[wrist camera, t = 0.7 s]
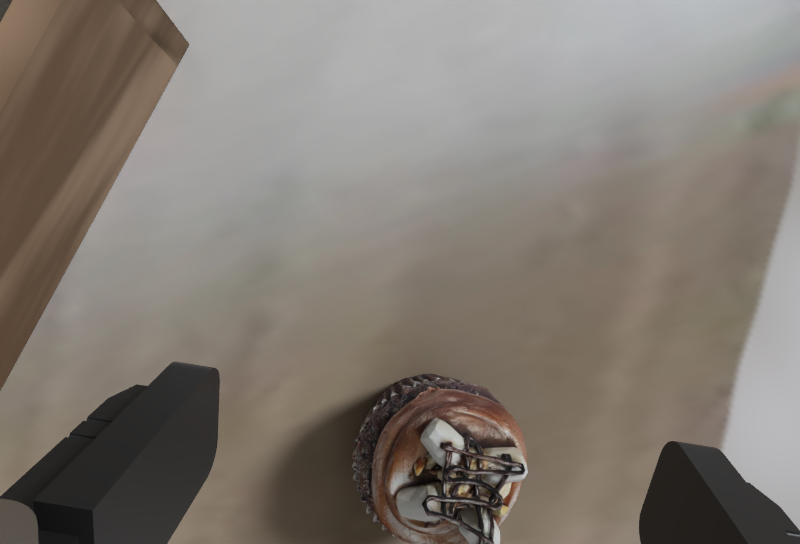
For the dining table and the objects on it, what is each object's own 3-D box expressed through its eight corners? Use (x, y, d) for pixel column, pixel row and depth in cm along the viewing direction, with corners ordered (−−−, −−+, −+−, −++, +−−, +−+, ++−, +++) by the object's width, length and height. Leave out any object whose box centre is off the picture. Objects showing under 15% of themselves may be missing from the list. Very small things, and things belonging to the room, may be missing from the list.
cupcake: (365, 349, 35) (375, 390, 25) (510, 374, 36) (575, 423, 26) (337, 494, 35) (335, 594, 25) (481, 515, 36) (535, 618, 26)
